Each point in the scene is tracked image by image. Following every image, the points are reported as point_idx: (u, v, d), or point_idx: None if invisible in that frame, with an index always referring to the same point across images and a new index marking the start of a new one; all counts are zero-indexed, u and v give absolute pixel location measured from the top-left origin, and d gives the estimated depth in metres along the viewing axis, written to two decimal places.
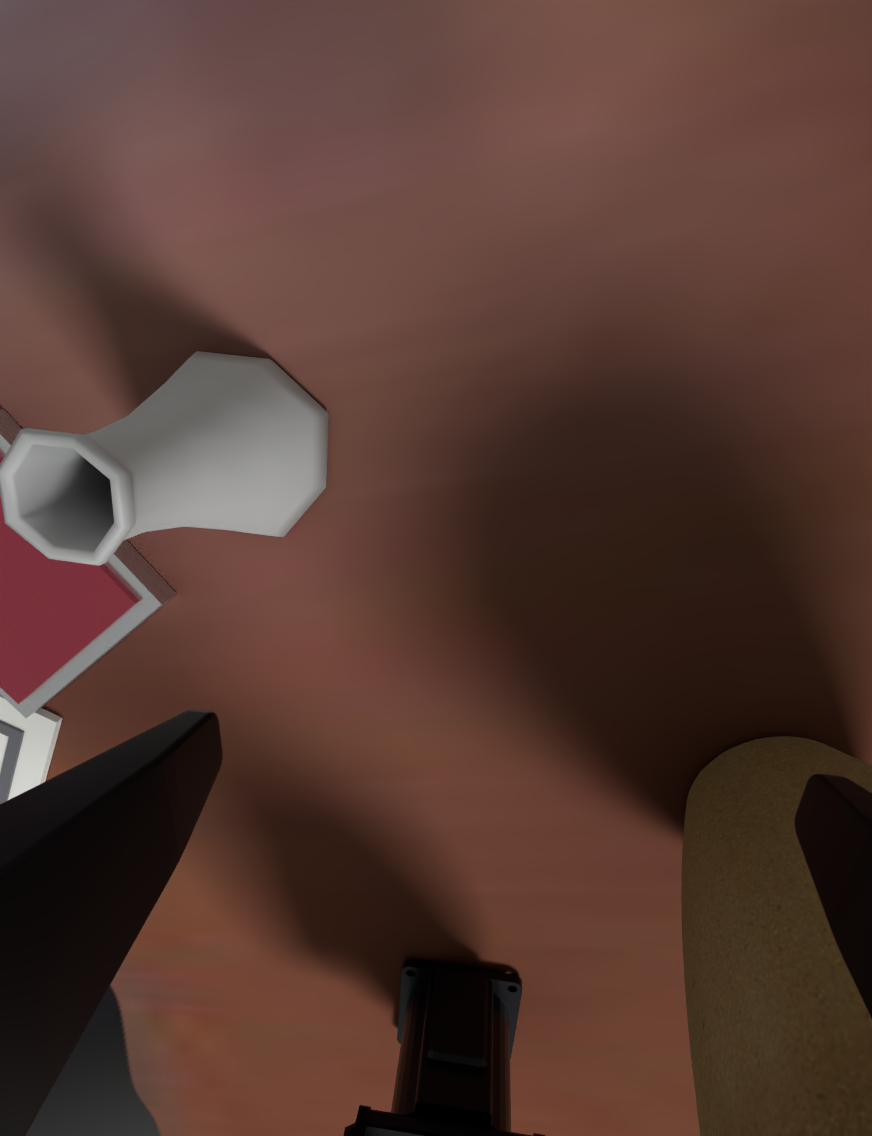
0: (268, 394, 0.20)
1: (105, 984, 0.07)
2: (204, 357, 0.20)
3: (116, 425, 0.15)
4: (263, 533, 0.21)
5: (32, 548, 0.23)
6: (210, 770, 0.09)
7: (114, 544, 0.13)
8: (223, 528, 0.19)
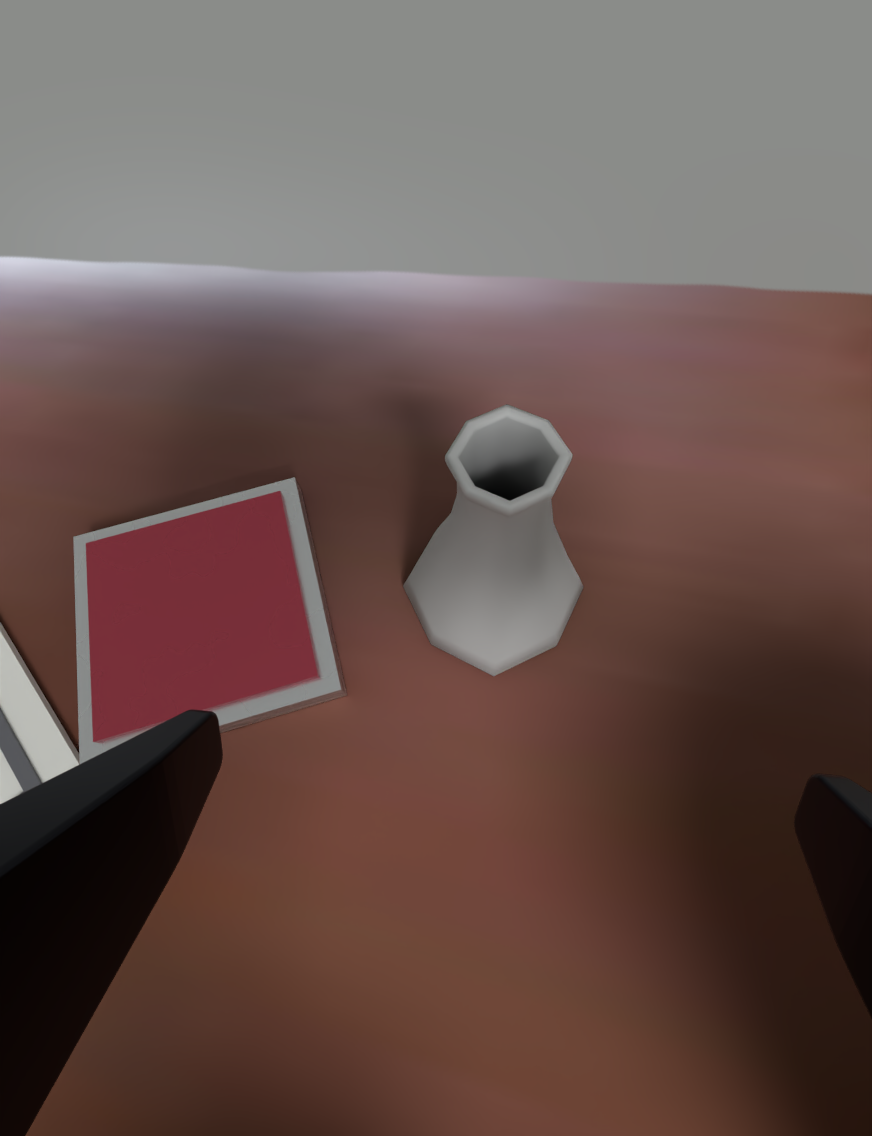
0: None
1: (105, 984, 0.07)
2: None
3: (507, 468, 0.18)
4: (496, 651, 0.21)
5: (254, 588, 0.23)
6: (210, 770, 0.09)
7: (535, 500, 0.14)
8: (499, 608, 0.19)
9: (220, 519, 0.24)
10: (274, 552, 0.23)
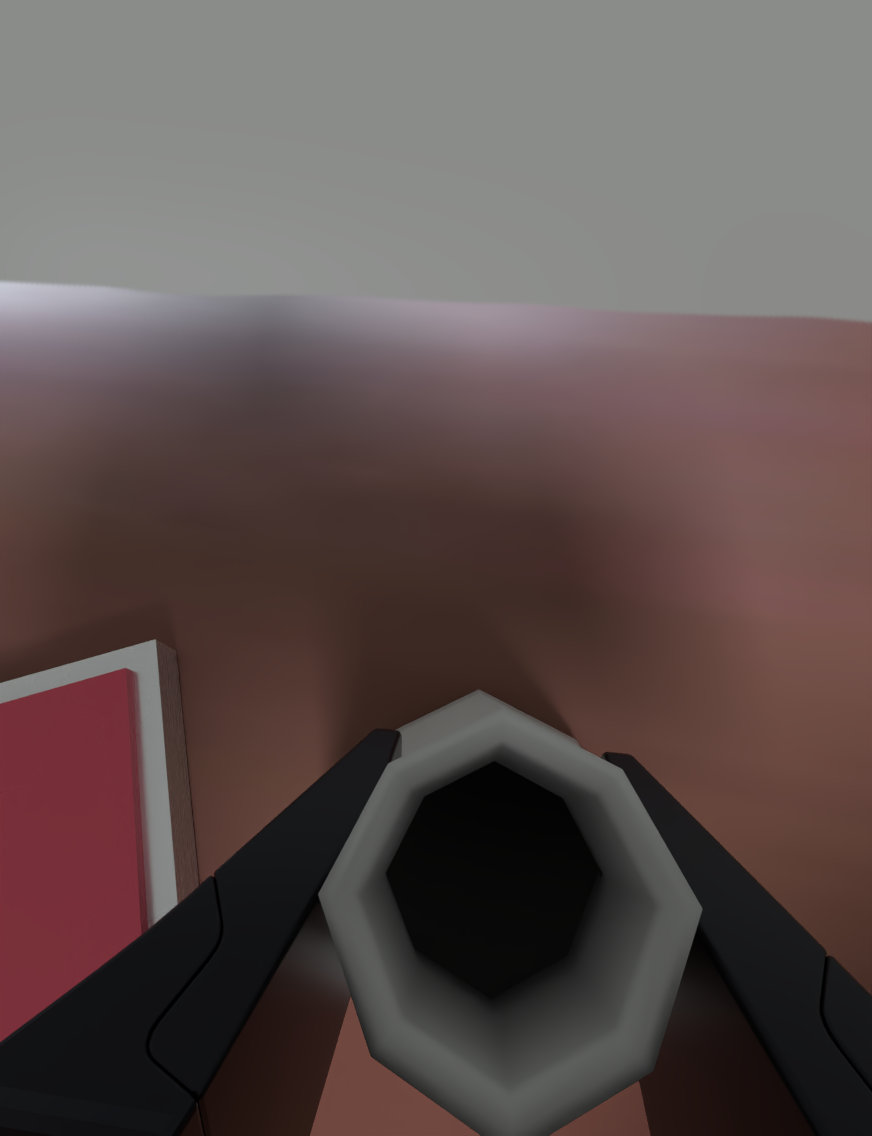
0: None
1: (342, 1020, 0.06)
2: (496, 701, 0.15)
3: None
4: None
5: (58, 864, 0.13)
6: None
7: (594, 1104, 0.04)
8: None
9: (20, 721, 0.14)
10: (101, 790, 0.14)
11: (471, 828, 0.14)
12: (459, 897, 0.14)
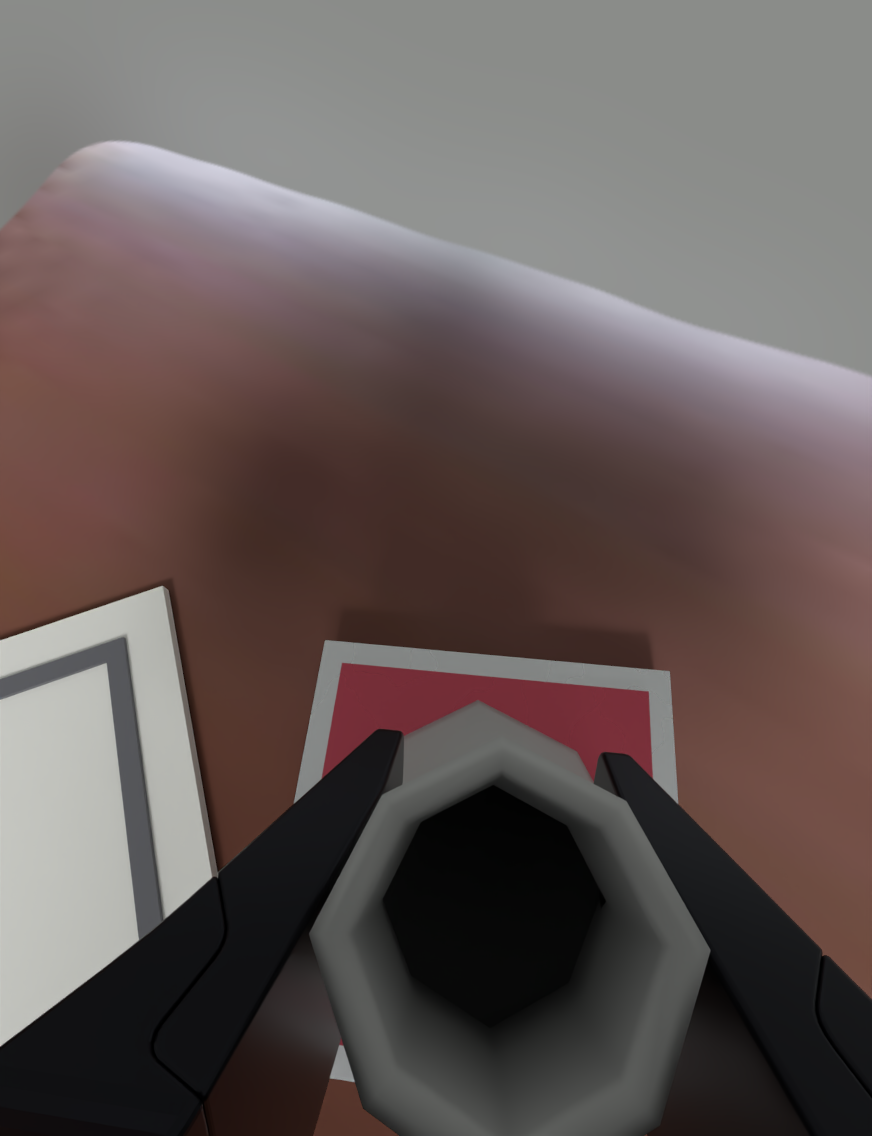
0: None
1: None
2: (495, 712, 0.14)
3: None
4: None
5: None
6: None
7: None
8: None
9: (546, 704, 0.15)
10: None
11: (470, 842, 0.14)
12: (459, 912, 0.13)
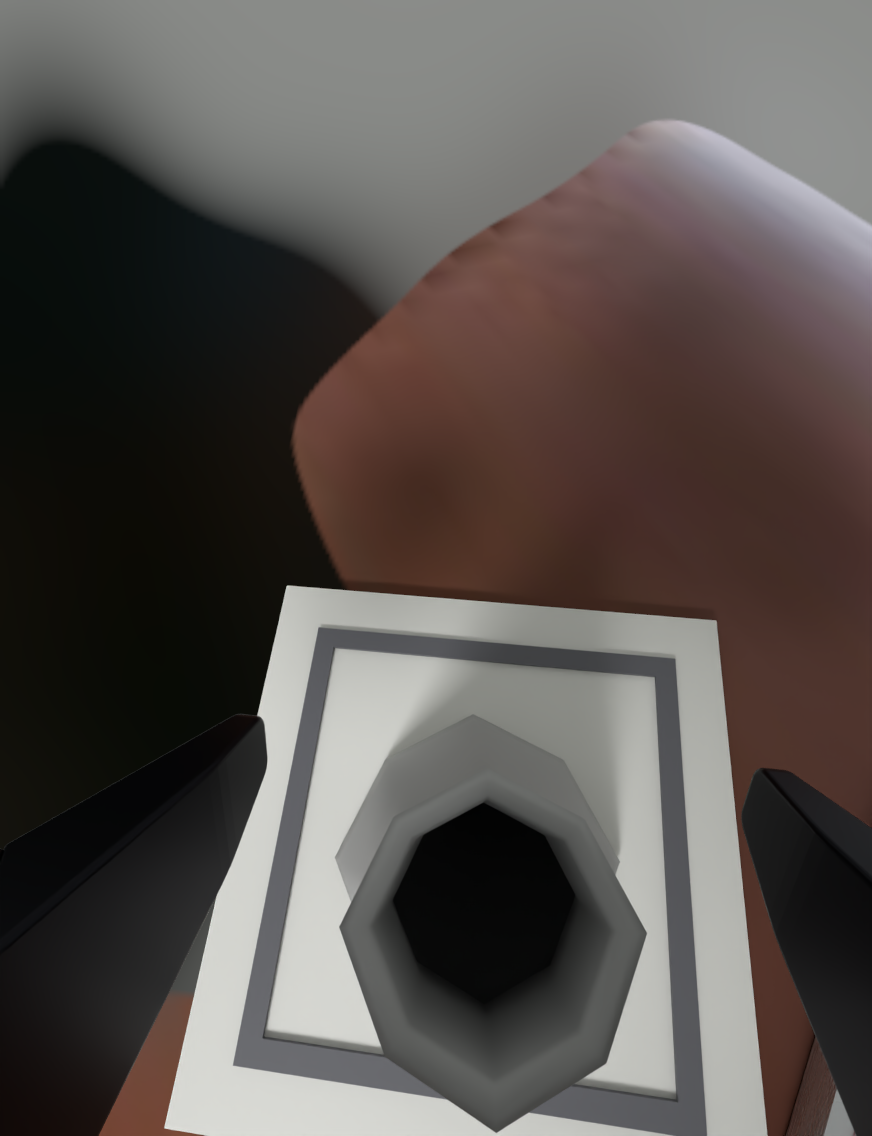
0: (577, 809, 0.14)
1: (165, 993, 0.07)
2: (489, 726, 0.16)
3: None
4: None
5: None
6: (257, 775, 0.09)
7: (559, 1090, 0.06)
8: None
9: None
10: None
11: (468, 844, 0.15)
12: (458, 908, 0.15)
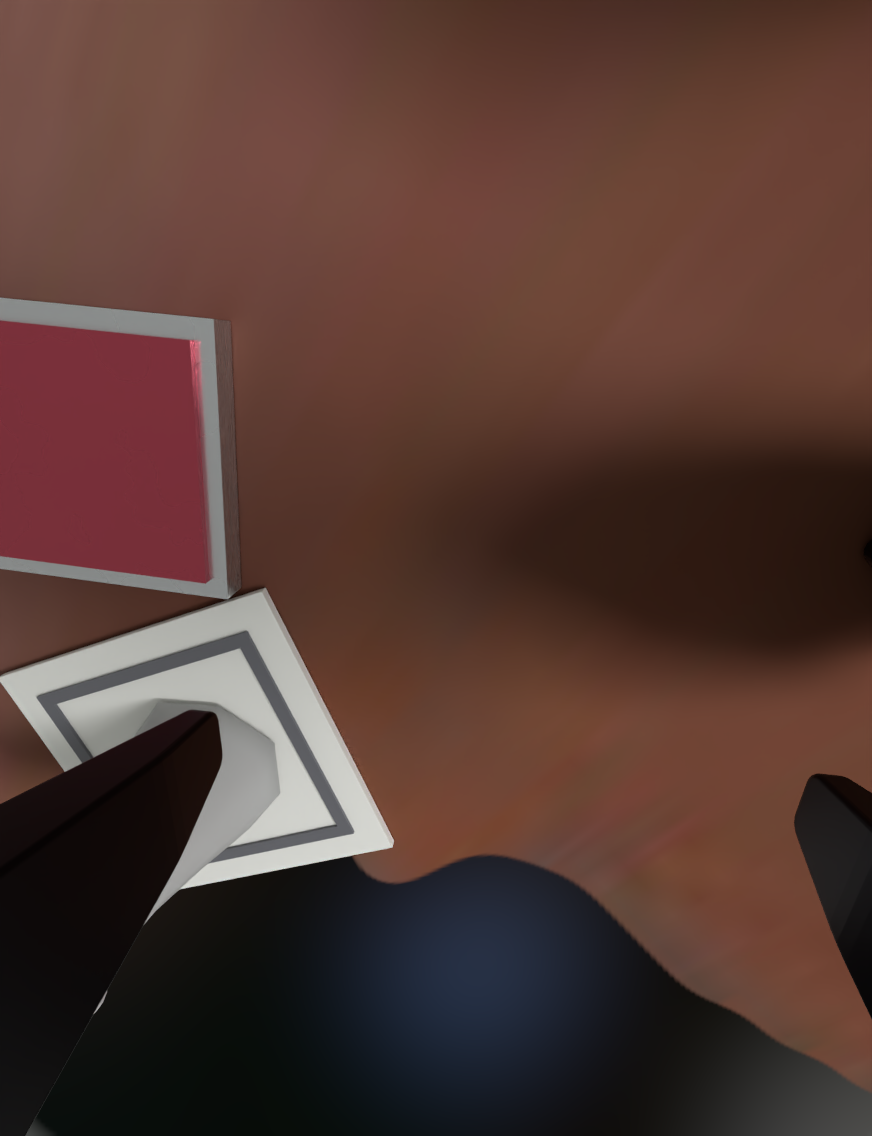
0: None
1: (105, 984, 0.07)
2: None
3: None
4: (248, 770, 0.23)
5: (71, 384, 0.19)
6: (210, 770, 0.09)
7: None
8: (202, 821, 0.21)
9: None
10: (28, 347, 0.19)
11: None
12: None
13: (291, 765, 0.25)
